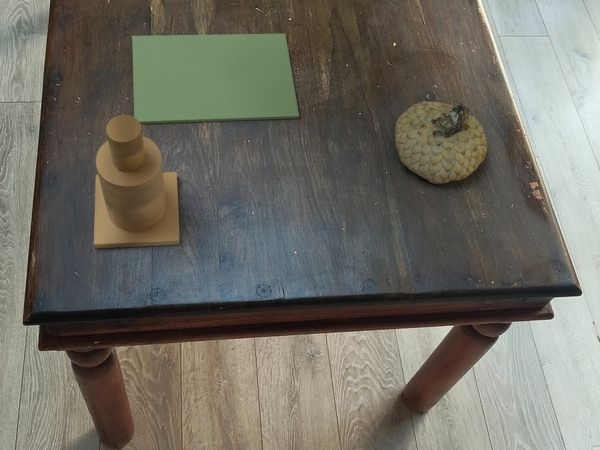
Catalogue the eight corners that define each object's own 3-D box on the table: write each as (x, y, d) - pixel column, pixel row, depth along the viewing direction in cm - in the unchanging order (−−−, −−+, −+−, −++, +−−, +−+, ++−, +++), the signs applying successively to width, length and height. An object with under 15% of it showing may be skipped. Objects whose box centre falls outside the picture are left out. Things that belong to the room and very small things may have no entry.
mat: (134, 124, 84) (134, 121, 84) (132, 38, 91) (132, 35, 91) (298, 118, 88) (299, 115, 87) (284, 36, 94) (285, 33, 94)
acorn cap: (486, 196, 85) (512, 115, 83) (414, 183, 80) (439, 97, 78) (439, 175, 94) (462, 101, 91) (371, 162, 89) (393, 84, 86)
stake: (94, 248, 76) (71, 169, 63) (96, 179, 80) (75, 91, 67) (179, 244, 77) (174, 166, 64) (177, 176, 81) (171, 90, 68)
